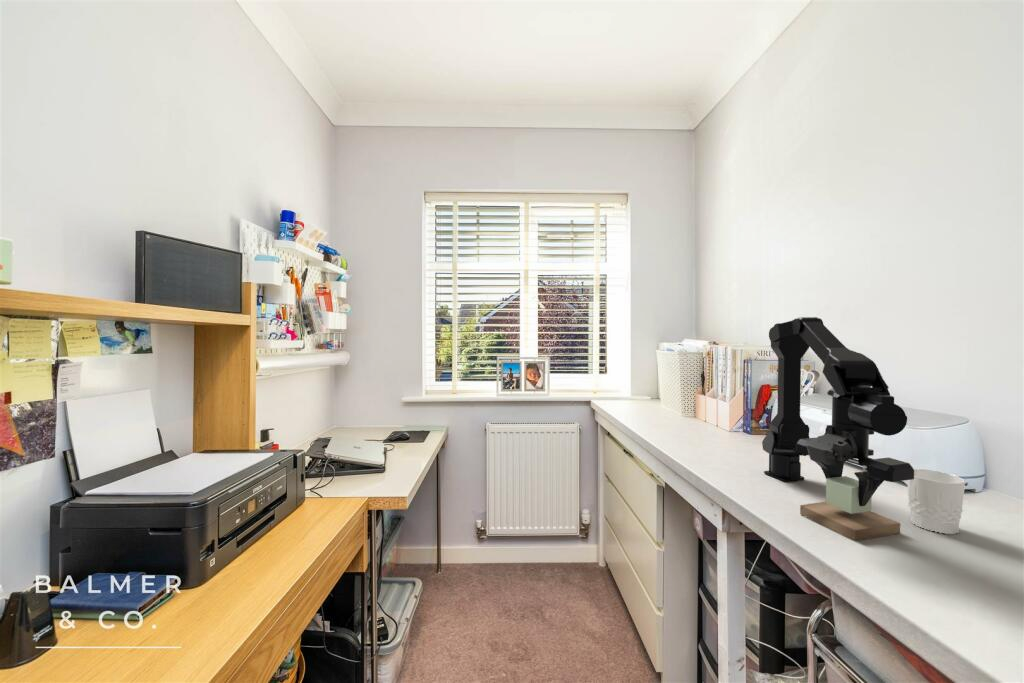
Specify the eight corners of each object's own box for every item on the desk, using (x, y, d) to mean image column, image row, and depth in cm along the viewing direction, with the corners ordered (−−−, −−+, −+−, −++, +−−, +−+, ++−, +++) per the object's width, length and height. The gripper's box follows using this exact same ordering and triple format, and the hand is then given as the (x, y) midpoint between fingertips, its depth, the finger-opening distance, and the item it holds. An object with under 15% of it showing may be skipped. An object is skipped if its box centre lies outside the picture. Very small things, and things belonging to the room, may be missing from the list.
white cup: (945, 539, 77) (947, 485, 76) (895, 519, 84) (897, 471, 84) (973, 533, 79) (975, 480, 79) (923, 514, 86) (924, 467, 86)
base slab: (800, 514, 87) (800, 505, 87) (841, 508, 90) (841, 499, 90) (854, 541, 76) (855, 530, 76) (900, 533, 79) (900, 523, 79)
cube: (825, 502, 85) (826, 478, 84) (844, 500, 86) (845, 476, 86) (851, 513, 80) (851, 488, 80) (871, 510, 81) (872, 485, 81)
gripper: (776, 414, 89) (774, 486, 90) (869, 437, 71) (867, 527, 72) (817, 411, 92) (816, 481, 93) (917, 432, 74) (915, 519, 74)
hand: (848, 500), depth 83 cm, fingers closed on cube, 5 cm apart
